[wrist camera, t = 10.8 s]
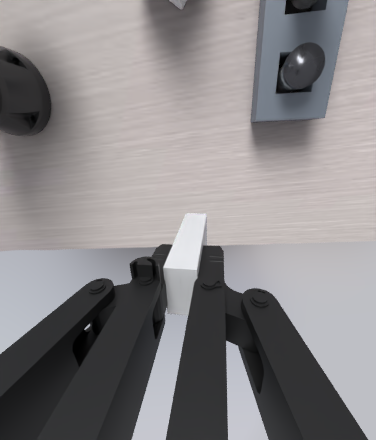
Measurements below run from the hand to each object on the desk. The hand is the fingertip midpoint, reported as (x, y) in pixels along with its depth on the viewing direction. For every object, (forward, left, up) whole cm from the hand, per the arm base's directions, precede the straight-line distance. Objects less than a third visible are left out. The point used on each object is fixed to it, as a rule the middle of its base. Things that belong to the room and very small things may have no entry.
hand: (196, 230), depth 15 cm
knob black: (+12, +14, -29) cm, 34 cm away
